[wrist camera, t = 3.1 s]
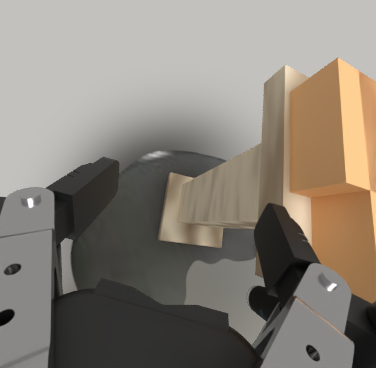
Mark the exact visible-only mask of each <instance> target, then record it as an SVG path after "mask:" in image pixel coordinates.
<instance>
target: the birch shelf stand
mask: <svg viewBox="0 0 376 368" xmlns="http://www.w3.org/2000/svg"><path fill="white" fill-rule="evenodd" d="M307 79H309V77H307V76H305V75H303V74H301V73H299V72H298V71H296V70H294V69H292V68H290V67H289V66H287V65H284V66H283V67H282V68H281V69H280V70H279V71H278V72H276V73H275V74H274V75H273V76H272V77H271V78H270V79H269V80H267V81H266V82H265V84H264V101H263V123H262V143H261V144H259V145H257V146H255V147H253V148H251V149H249V150H247V151H245V152H243V153H242V154H240V155H238V156H236V157H234V158H232V159H230V160H228V161H226V162H224V163H222V164H221V165H219V166H217V167H215V168H213V169H211V170H209V171H207V172H205V173H203V174H201V175H200V176H198V177H196V178H192V177H188V176H184V175H179V174H175V173H169V176H168V182H167V188H166V193H165V199H164V205H163V211H162V217H161V223H160V229H159V235H158V240H162V241H170V242H178V243H186V244H194V245H202V246H210V247H218V248H222V237H223V228H240V229H255V226H256V224H257V222H258V220H259V218H260V216H261V214H262V212H263V210H264V209H265V207H266V205H267V204H268V203H274V204H277V205H281V206H284V207H285V208H286V210H287V211H288V213H289V215H290V217H291V218H293V219H294V220H295V222H296V223H297V224H298V225H299V226H300V227H301V229H302V230H303V232H304V234H305V235H304V236H306V238H307V239H308V242H309V243H310V245H311V247H312V223H311V198H310V197H306V196H302V195H298V194H295V193H291V192H290V92H291V91H292V90H293V89H295V88H296V87H298V86H299V85H300V84H302V83H303V82H304V81H306V80H307ZM255 274H256V275H257V276H260V277H263V274H262V269H261V265H260V261H259V256H258V252H257V251H256V273H255Z"/></svg>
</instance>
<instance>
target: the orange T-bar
mask: <svg viewBox="0 0 376 368" xmlns="http://www.w3.org/2000/svg"><path fill="white" fill-rule="evenodd" d="M290 192H291V193H295V194H298V195H302V196H306V197H310V198H311V223H312V248H313V250H314V252H315V254H316V256H317V257H318V259H319V261H320V263H321V264H322V265H324V266H327V267H328V268H330V269H332V270H333V271H335V272H336V273H337V274H338V275H340V276H341V277H342V278H343V279H344V281H345V282H346V283H347V284H348V286H349V288H350V290H351V293H352V294H354V295H356V296H358V297H360V298H362V299H364V300H366V301H368V302H370V303H374V302H375V301H376V82H375V81H374V80H372V79H370V78H369V77H367V76H366V75H364V74H363V73H361V72H360V71H358V70H357V69H355V68H353V67H352V66H350V65H349V64H347V63H345V62H344V61H343V60H341V59H339V58H336V59H335V60H334V61H332V62H331V63H329V64H328V65H327V66H325V67H324V68H322V69H321V70H320V71H318V72H317V73H316V74H314V75H313V76H312V77H310V78H309V79H307V80H306V81H304V82H303V83H302V84H300V85H299V86H298V87H296V88H295V89H293V90H292V91H291V92H290Z"/></svg>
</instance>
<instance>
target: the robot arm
mask: <svg viewBox="0 0 376 368" xmlns="http://www.w3.org/2000/svg"><path fill="white" fill-rule="evenodd" d="M118 178H119V162H118V161H117V160H113V159H110V158H106V157H102V158H100V159H99V160H98V161H96V162H94V163H89V164H86V165H82V166H80V167H78V168H77V169H75V170H74V171H73V172H70V173H69V174H67V176H64V177H62V178H61V179H59V180H58V181H56V182H54V183H53V184H51V185H50V186H48V187H47V188H38V187H34V188H25V189H21V190H18V191H15V192H13V193H11V194H10V195H8V196H7V197H0V368H376V301H375V302H374V303H370V302H368V301H366V300H364V299H362V298H360V297H358V296H356V295H354V294H352V293H351V290H350V288H349V286H348V284H347V283H346V282H345V281H344V279H343V278H342V277H341V276H340V275H338V274H337V273H336V272H335V271H333V270H332V269H330V268H328V267H327V266H324V265H322V264H321V263H320V261H319V259H318V257H317V256H316V254H315V252H314V250H313V248H312V247H311V245H310V243H309V242H308V239H307V238H306V236H304V235H305V234H304V232H303V230H302V229H301V227H300V226H299V225H298V224H297V223H296V222H295V220H294V219H293V218H291V217H290V215H289V213H288V211H287V210H286V208H285V207H284V206H281V205H277V204H274V203H268V204H267V205H266V207H265V209H264V210H263V212H262V214H261V216H260V218H259V220H258V222H257V224H256V226H255V229H254V238H255V243H256V247H257V252H258V256H259V261H260V265H261V269H262V274H263V278H264V283H265V287H266V291H267V294H268V295H271V296H275V297H278V298H279V303H278V304H277V305H276V307H275V308H274V310H273V312H272V314H271V315H270V317H269V319H268V320H267V322H266V324H265V325H264V327H263V329H262V330H261V332H260V334H259V335H258V337H257V339H256V340H255V342H254V343H253V344H252V346H251V344H250V343H249V342H248V341H247V340H246V339H245V338H244V337H243V336H242V335H241V334H239V333H238V332H237V331H235V330H234V329H233V328H231V327H230V326H229V323H228V314H227V313H224V312H220V311H217V310H213V309H210V308H206V307H202V306H199V305H163V304H160V303H158V302H156V301H155V300H153V299H151V298H150V297H148V296H146V295H145V294H143V293H141V292H140V291H138V290H136V289H135V288H133V287H130V286H127V285H123V284H120V283H116V282H112V281H109V280H105V279H102V278H101V280H100V281H99V283H98V285H97V287H96V288H95V289H83V290H78V291H73V292H70V293H67V294H64V295H63V290H62V268H61V244H60V243H61V242H62V241H63V240H64V239H65V238H68V239H72V240H77V239H78V237H79V236H80V235H81V234H82V233H83V232H84V231H85V230H86V228H87V227H88V226H89V225H90V224H91V223H92V222H93V220H94V219H95V218H96V217H97V216H98V215H99V214H100V213H101V211H102V210H103V209H104V208H105V207H106V206H107V205H108V203H109V202H110V201H111V200H112V199H113V198H114V196H115V195H116V192H117V189H118Z"/></svg>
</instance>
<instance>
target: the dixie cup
mask: <svg viewBox="0 0 376 368" xmlns="http://www.w3.org/2000/svg"><path fill="white" fill-rule="evenodd" d="M247 303H248V305H249V306H250V307H251V309H252V310H253V311H255V312H256V313H257V314H258V315H259V316H260V317H262V318H263V319H264V320H265V321H267V320H268V319H269V317H270V315H271V314H272V312H273V310H274V308H275V307H276V305H277V304H278V303H279V298H278V297H275V296H271V295H268V294H267V291H266V287H262V286H253V287H251V288H250V289H249V290H248V293H247Z"/></svg>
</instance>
